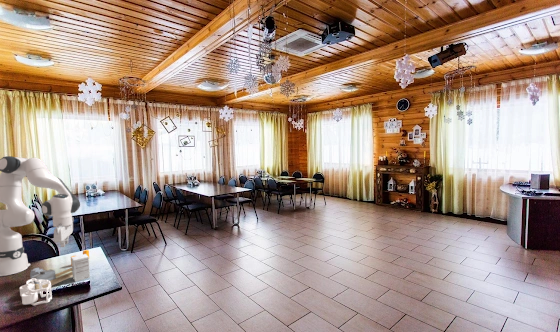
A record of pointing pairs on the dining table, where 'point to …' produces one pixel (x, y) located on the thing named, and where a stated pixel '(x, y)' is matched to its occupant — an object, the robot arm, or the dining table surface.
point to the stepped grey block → (35, 272)
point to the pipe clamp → (83, 253)
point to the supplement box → (80, 267)
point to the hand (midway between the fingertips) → (64, 245)
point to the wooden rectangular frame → (52, 277)
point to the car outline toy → (35, 292)
